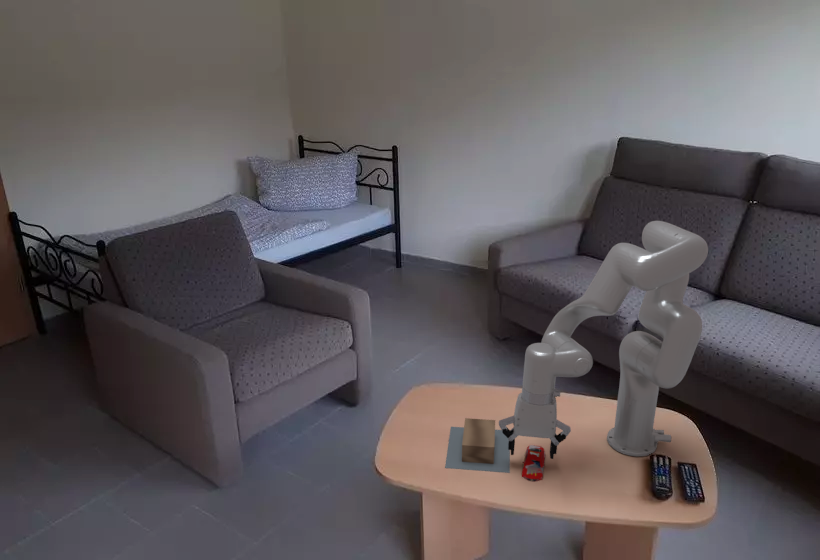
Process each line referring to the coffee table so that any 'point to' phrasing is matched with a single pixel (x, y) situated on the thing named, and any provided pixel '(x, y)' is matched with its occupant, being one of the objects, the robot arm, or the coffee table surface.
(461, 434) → the base plate
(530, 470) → the race car
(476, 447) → the walnut block
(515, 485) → the coffee table surface
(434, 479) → the coffee table surface
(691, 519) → the coffee table surface
